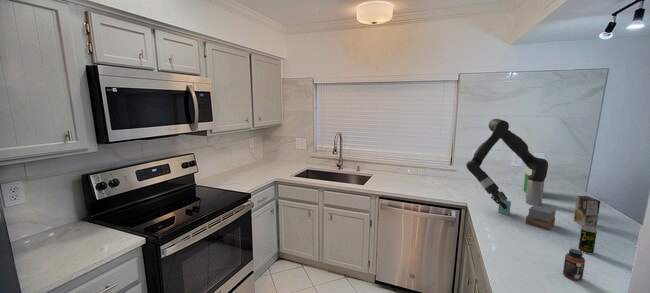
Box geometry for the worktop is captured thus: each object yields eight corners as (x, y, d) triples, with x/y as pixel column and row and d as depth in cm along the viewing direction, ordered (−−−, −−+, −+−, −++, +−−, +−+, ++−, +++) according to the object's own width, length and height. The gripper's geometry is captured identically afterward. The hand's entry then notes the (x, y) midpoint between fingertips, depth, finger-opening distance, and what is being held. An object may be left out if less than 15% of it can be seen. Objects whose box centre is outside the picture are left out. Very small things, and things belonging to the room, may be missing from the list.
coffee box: (597, 228, 154) (601, 201, 152) (584, 227, 156) (587, 200, 153) (585, 221, 163) (589, 195, 161) (573, 220, 164) (576, 195, 162)
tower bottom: (531, 219, 167) (532, 211, 167) (554, 225, 159) (555, 217, 158) (525, 224, 161) (526, 216, 160) (548, 230, 152) (549, 222, 151)
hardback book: (541, 197, 205) (544, 167, 202) (529, 196, 208) (532, 166, 205) (534, 191, 221) (537, 162, 218) (523, 190, 224) (526, 161, 221)
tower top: (533, 212, 166) (534, 204, 165) (554, 217, 158) (555, 209, 157) (528, 216, 160) (529, 208, 159) (549, 222, 152) (550, 213, 151)
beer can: (577, 247, 134) (581, 224, 132) (593, 250, 130) (596, 227, 129) (578, 251, 130) (581, 228, 128) (594, 255, 126) (597, 231, 125)
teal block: (501, 210, 181) (502, 199, 179) (509, 213, 177) (510, 201, 175) (498, 212, 178) (499, 200, 176) (506, 214, 174) (507, 203, 172)
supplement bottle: (582, 283, 107) (586, 256, 105) (562, 277, 111) (566, 251, 109) (582, 276, 111) (585, 250, 109) (562, 270, 115) (566, 245, 113)
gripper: (489, 184, 176) (508, 207, 168) (498, 180, 185) (517, 202, 177) (479, 190, 181) (498, 212, 173) (489, 186, 190) (507, 207, 182)
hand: (507, 207), depth 175 cm, fingers closed on teal block, 5 cm apart
